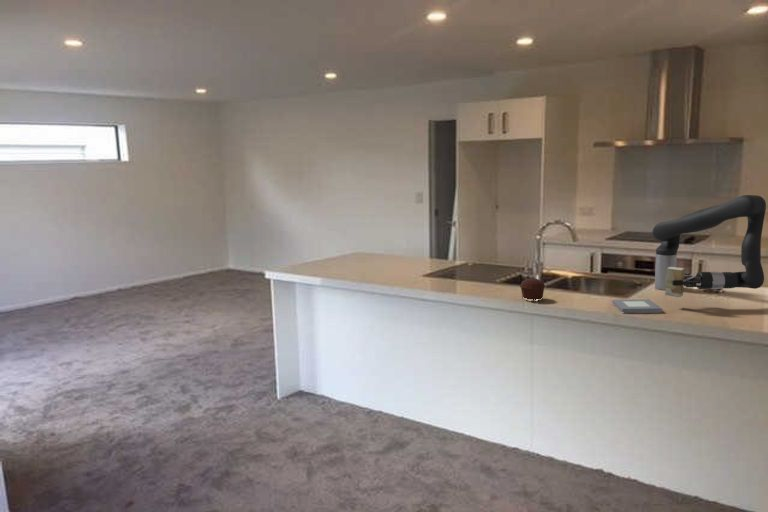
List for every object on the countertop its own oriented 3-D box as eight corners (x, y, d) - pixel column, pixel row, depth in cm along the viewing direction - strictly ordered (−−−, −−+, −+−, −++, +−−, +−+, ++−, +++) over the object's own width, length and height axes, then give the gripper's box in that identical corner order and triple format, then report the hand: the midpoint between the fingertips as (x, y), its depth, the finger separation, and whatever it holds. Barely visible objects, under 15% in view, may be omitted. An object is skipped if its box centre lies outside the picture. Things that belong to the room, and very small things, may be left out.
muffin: (547, 298, 279) (548, 277, 277) (541, 303, 269) (541, 282, 268) (523, 296, 285) (523, 276, 283) (516, 301, 275) (516, 280, 274)
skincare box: (664, 295, 253) (665, 268, 251) (668, 293, 256) (669, 266, 254) (680, 297, 248) (681, 269, 246) (683, 295, 251) (685, 268, 249)
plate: (612, 303, 263) (612, 299, 263) (649, 303, 261) (649, 299, 261) (622, 313, 248) (622, 308, 247) (661, 312, 246) (661, 308, 245)
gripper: (703, 268, 256) (664, 269, 258) (718, 275, 242) (676, 276, 244) (702, 285, 257) (663, 285, 259) (717, 293, 243) (675, 293, 245)
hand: (669, 280), depth 251 cm, fingers closed on skincare box, 7 cm apart
